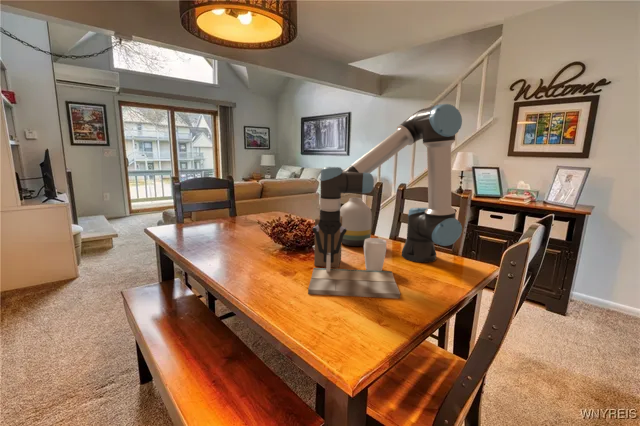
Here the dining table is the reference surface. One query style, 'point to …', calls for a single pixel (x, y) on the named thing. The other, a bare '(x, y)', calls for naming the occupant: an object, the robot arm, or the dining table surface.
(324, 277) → the plank
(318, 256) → the wooden block
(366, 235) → the vase
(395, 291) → the laid row
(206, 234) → the dining table surface
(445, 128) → the robot arm
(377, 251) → the cup
